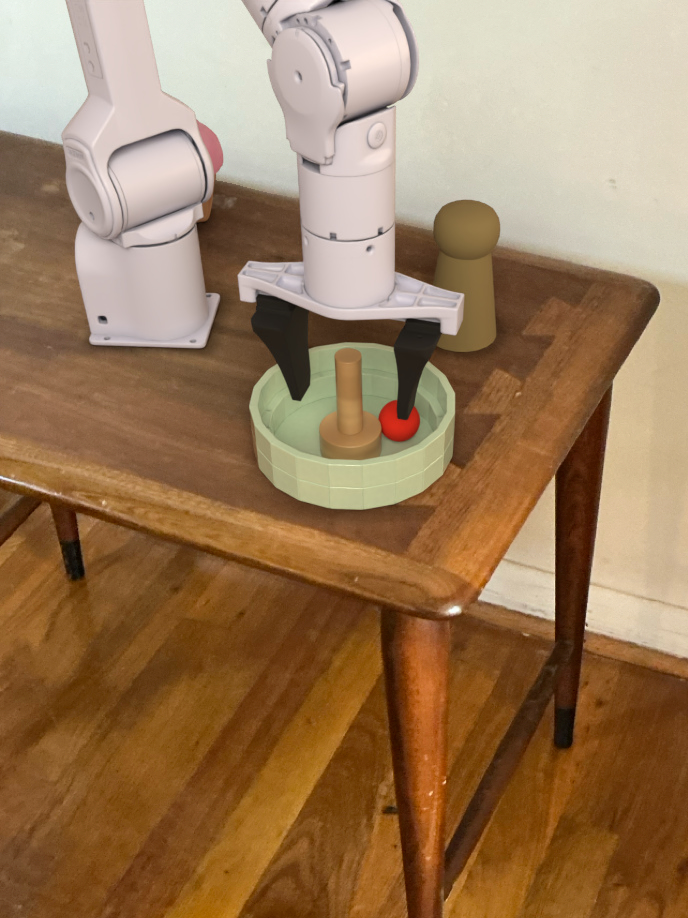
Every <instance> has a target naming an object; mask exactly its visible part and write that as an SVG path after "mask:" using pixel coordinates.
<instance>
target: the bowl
mask: <svg viewBox="0 0 688 918" xmlns="http://www.w3.org/2000/svg"><path fill="white" fill-rule="evenodd" d="M344 348H353V349H356V350H358V351H359V352H360V353H361V355H362V398H363V411H366V412H369V413H371V414H373V415H374V416H375V417H377V419H378V418H379V414H380V411H381V409H382V408H383V407H384V406H385V405H386V404H387V403H389V402H390V401H393V400H397V396H398V374H397V365H396V359H395V354H394V346H389V345H385V344H380V343H375V342H350V341H349V342H348V341H345V342H338V343H331V344H324V345H318V346H313V347H311V348H309V358H310V369H311V378H310V386H309V388H308V390H307V391H306V393H305V395H304V397H303V398H302V400H301V401H295V400H292V398H291V395H290V392H289V389H288V387H287V384H286V381H285V379H284V377H283V374H282V372H281V370H280V368H279V366H278V364H277V363H276V364H274V365H273V366H271V367H269V368H268V369H267V370H266V371H265V372H264V374H263V375H262V376H261V377H260V379H259V380H258V381H257V382H256V383H255V384H254V386H253V388H252V392H251V397H250V400H249V405H248V409H249V411H248V412H249V420H250V426H251V427H250V428H251V437H252V446H253V451H254V456H255V459H256V462H257V466H258V469H259V470H260V471H261V472H262V474H263V475H264V476H265V477H266V478H267V479H268V481H269V482H270V483H271V484H272V485H273V486H274V487H275V488H276V489H277V490H279V491H281V492H283V493H285V494H286V495H288V496H290V497H291V498H294V499H295V500H297V501H300V502H302V503H303V502H304V503H307V504H310V505H314V506H318V507H323V508H326V509H331V510H357V511H358V510H359V511H360V510H361V511H363V510H371V509H376V508H381V507H387V506H392V505H396V504H399V503H401V502H404V501H405V500H408V499H410V498H412V497H415V496H417V495H419V494H421V493H423V492H424V491H426V490H427V489H428V488H429V487H430V486H432V485H433V484H434V483H435V482H437V480H439V479H440V478H441V477H442V476H443V475H444V474H445V471H446V470H447V468H448V466H449V464H450V462H451V460H452V458H453V455H454V440H455V423H456V392H455V391H454V389H453V387H452V385H451V383H450V382H449V379H448V378H447V376H446V374H445V373H443V372H442V371H441V370H440V369H438V368H437V367H436V366H435V365H433V363H431V361H430V360H429V361H428V362H427V364H426V365H425V367H424V369H423V372H422V375H421V378H420V381H419V384H418V388H417V393H416V398H415V405H414V406H415V407H416V409H417V411H418V413H419V416H420V426H419V429H418V431H417V432H416V434H415V435H414V436H413V437H412V438H410V439H408V440H406V441H402V442H397V441H392V440H390V439H388V438H387V437H385V436H384V434H383V433H382V451H381V454H380V456H379V457H376V458H370V459H364V460H343V459H327V458H323V457H322V455H321V452H320V438H319V426H320V423H321V421H322V420H323V419H324V418H325V417H326V416H327V415H329V414H331V413H333V412H335V411H337V405H336V381H335V357H334V356H335V353H336V352H337V351H338V350H340V349H344Z"/></svg>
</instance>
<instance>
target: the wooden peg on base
mask: <svg viewBox="0 0 688 918" xmlns="http://www.w3.org/2000/svg"><path fill="white" fill-rule="evenodd" d="M334 357H335V381H336V405H337V411H335V412H333V413H331V414H329V415H327V416H326V417H325V418H324V419H323V420H322V421H321V423H320V426H319V438H320V452H321V455H322V457H323V458H327V459H343V460H364V459H370V458H376V457H379V456H380V454H381V451H382V427H381V423H380V421H379V420H378V419H377V417H375V416H374V415H373V414H371V413H369V412H366V411H363V398H362V355H361V353H360V352H359V351H358V350H356V349H353V348H344V349H340V350H338V351H337V352H336V353H335V356H334Z"/></svg>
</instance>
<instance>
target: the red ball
mask: <svg viewBox="0 0 688 918" xmlns="http://www.w3.org/2000/svg"><path fill="white" fill-rule="evenodd" d="M378 420H379V421H380V423H381V427H382V433H383V434H384V436H385V437H387V438H388V439H390V440H392V441H397V442H402V441H406V440H408V439H410V438H412V437H413V436H414V435H415V434H416V432H417V431H418V429H419V426H420V416H419V413H418V411H417V409H416V407H415V406H414V407H413V409H412V411H411V414H410V416H409V418H408V420H402V419H398V418H397V400H393V401H390V402H389V403H387V404H386V405H385V406H384V407H383V408H382V409H381V411H380V414H379V418H378Z"/></svg>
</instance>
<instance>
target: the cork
mask: <svg viewBox="0 0 688 918" xmlns="http://www.w3.org/2000/svg"><path fill="white" fill-rule="evenodd" d="M500 221H501V220H500V217H499V216H498V213H497V212H496V210H495V209H494V208H493V206H490V205H489V204H487V203H485V202H483V201H480V200H474V199H458V200H453V201H450V202H447V203H445V204H444V205H442V206H441V207H440V209H439V210H438V211H437V213H436V214H435V216H434V220H433V228H432V229H433V230H432V231H433V232H432V233H433V234H432V235H433V238H434V239H433V240H434V243H435V245H437V247H438V254H437V259H436V264H435V270H434V276H433V282H432V286H435V287H438V288H441V289H444V290H448V291H452V292H457V293H463V294H464V309H463V321H462V323H461V326H460V328H459V330H458V332H457V334H456V335H448V334H443V333H442V335H441V337H440V339H439V341H438V344H437V346H436V348H437V347H438V348H439V349H442V350H444V351H449V352H454V353H469V352H477V351H479V350H483V349H485V348H487V347H488V346H490V345H491V344H493V343H494V341H495V339H496V338H497V322H496V305H495V304H496V303H495V289H494V288H495V287H494V273H493V272H494V271H493V255H492V254H493V253H492V251H493V250H494V249H495V247H496V246H497V244H498V242H499V239H500V236H501V222H500Z"/></svg>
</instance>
